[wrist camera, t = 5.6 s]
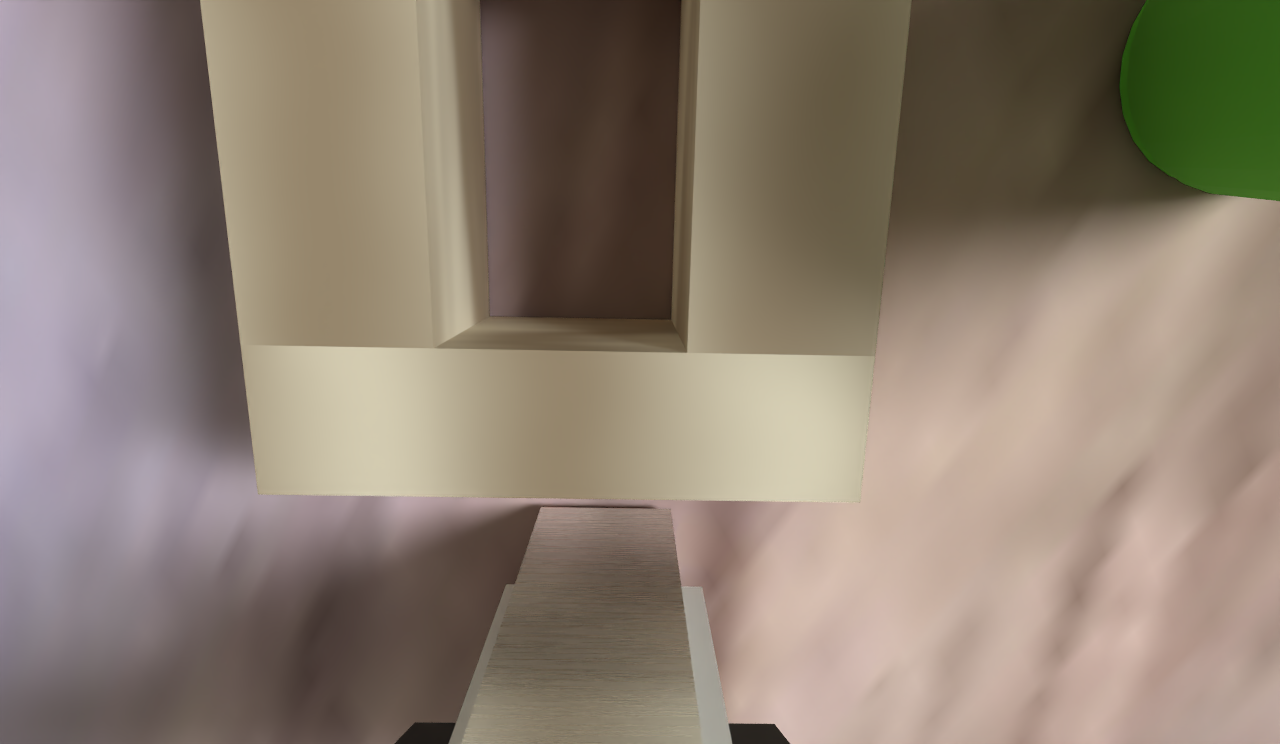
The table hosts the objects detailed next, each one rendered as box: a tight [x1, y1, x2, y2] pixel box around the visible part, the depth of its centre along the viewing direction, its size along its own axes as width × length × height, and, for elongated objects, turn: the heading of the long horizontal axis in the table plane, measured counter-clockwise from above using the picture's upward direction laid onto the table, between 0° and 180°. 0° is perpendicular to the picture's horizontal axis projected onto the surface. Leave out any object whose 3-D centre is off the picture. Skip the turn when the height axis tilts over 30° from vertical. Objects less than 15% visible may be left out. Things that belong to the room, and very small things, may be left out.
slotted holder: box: [200, 0, 912, 502], centre depth 11 cm, size 10×12×4 cm
